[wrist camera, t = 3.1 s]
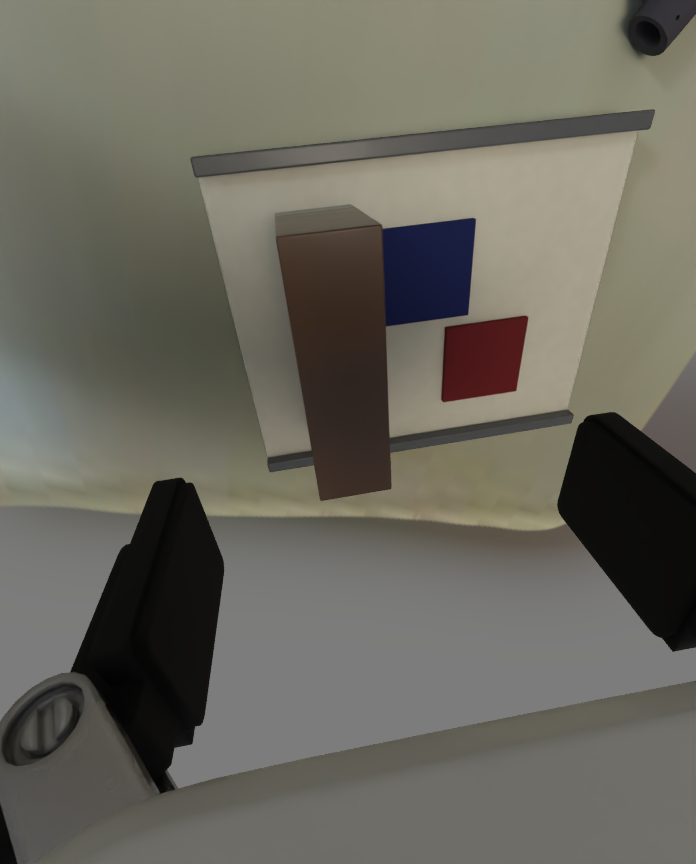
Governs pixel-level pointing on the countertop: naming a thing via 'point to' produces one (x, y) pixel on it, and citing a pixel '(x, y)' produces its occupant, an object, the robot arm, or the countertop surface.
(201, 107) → the countertop surface
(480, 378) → the smudge maroon
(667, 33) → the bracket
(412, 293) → the smudge navy
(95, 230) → the countertop surface
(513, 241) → the memo board
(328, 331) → the eraser
